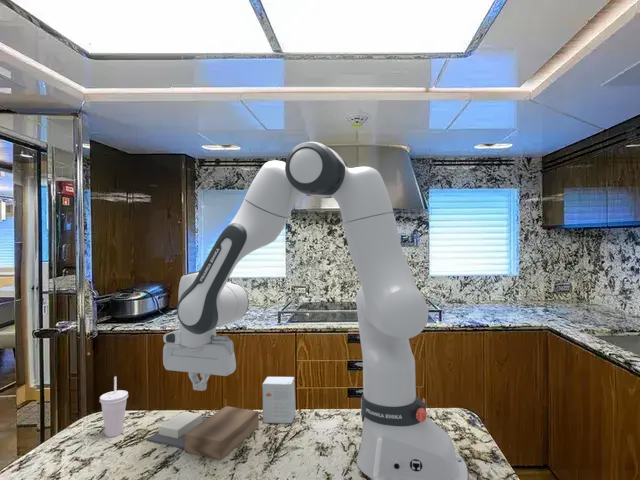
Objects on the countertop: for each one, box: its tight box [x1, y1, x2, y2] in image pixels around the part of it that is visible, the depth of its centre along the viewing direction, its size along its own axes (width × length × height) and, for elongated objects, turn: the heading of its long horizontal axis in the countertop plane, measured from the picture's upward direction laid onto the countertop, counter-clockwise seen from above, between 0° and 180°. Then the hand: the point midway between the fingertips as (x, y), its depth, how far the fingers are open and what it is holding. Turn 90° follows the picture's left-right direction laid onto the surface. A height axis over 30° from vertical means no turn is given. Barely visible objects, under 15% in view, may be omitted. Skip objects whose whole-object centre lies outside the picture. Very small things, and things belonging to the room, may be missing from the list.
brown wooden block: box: [184, 405, 260, 461], centre depth 90 cm, size 10×16×4 cm, turn 159°
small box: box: [262, 376, 296, 424], centre depth 100 cm, size 8×6×10 cm
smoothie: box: [98, 376, 129, 438], centre depth 94 cm, size 6×6×14 cm
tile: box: [158, 410, 203, 438], centre depth 95 cm, size 6×9×2 cm, turn 159°
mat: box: [147, 416, 209, 450], centre depth 94 cm, size 12×14×1 cm
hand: (199, 389), depth 93 cm, fingers closed
